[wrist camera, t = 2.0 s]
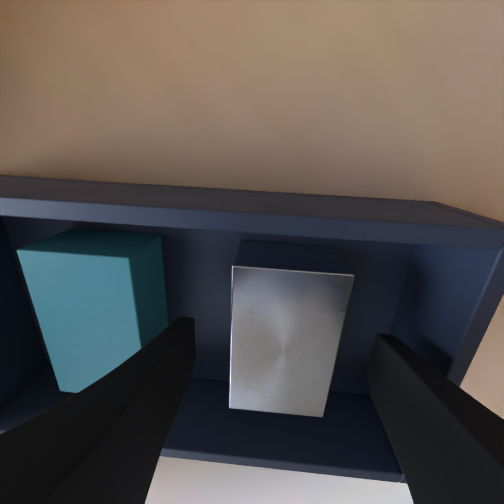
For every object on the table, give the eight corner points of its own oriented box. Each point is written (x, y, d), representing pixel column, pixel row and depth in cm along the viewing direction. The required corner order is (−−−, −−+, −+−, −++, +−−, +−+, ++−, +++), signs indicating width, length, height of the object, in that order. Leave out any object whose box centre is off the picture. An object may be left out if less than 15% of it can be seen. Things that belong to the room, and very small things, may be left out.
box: (47, 363, 16) (-29, 435, 12) (-13, 174, 12) (-163, 185, 8) (375, 395, 15) (414, 485, 11) (436, 201, 11) (535, 230, 7)
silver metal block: (236, 360, 14) (228, 409, 11) (240, 239, 11) (231, 265, 9) (314, 368, 14) (324, 418, 11) (336, 246, 11) (355, 274, 9)
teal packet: (98, 348, 14) (59, 391, 12) (71, 227, 12) (14, 249, 9) (171, 355, 14) (148, 400, 11) (161, 233, 12) (129, 257, 9)
